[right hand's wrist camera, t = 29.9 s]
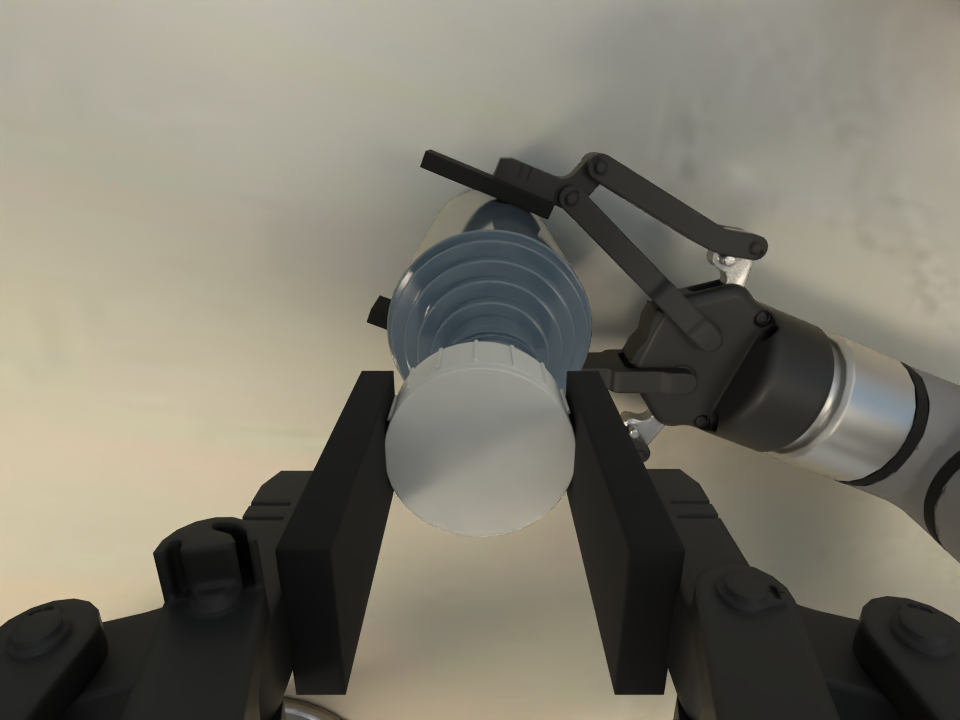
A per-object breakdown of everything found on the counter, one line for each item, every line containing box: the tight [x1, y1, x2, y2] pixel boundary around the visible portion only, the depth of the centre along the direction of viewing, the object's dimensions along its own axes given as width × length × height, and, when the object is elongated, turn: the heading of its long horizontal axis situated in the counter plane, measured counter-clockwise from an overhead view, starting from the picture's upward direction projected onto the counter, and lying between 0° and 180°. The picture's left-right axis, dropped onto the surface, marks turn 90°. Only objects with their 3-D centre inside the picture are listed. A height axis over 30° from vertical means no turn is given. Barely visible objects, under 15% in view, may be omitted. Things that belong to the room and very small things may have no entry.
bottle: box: [387, 189, 592, 394], centre depth 27 cm, size 7×7×21 cm
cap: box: [385, 340, 575, 537], centre depth 14 cm, size 4×4×2 cm
